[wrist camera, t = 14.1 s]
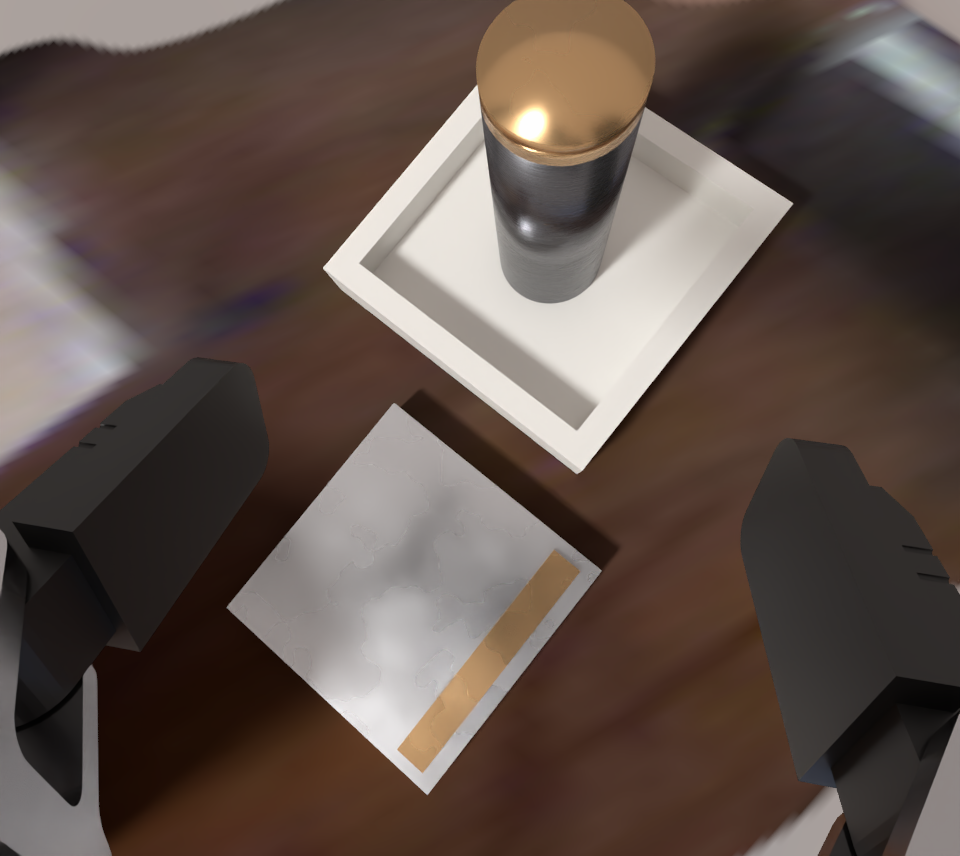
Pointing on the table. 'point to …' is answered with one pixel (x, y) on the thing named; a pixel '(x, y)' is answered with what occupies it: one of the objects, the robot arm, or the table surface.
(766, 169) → the table surface
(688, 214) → the white square tray
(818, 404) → the table surface
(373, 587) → the plate
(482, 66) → the battery cell
